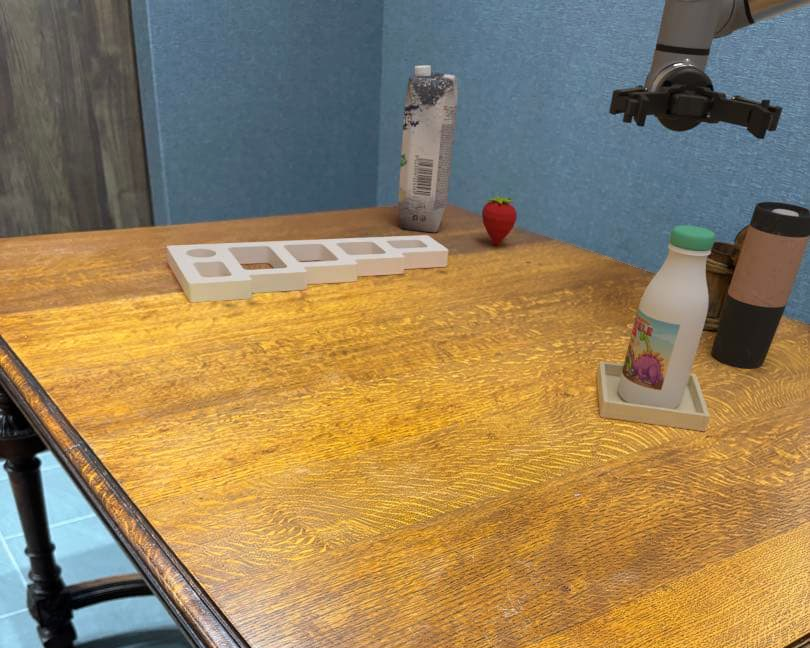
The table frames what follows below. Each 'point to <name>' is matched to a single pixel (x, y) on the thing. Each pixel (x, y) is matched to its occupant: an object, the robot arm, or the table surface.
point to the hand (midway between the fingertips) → (703, 119)
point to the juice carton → (426, 149)
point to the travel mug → (761, 283)
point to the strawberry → (498, 218)
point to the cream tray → (683, 416)
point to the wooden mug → (721, 276)
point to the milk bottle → (669, 323)
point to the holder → (295, 264)
